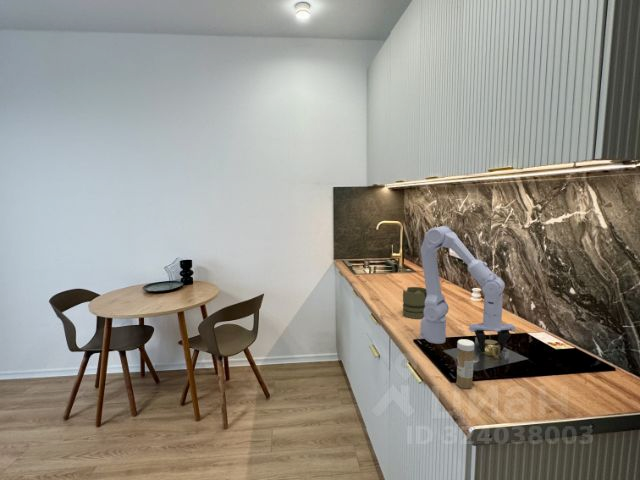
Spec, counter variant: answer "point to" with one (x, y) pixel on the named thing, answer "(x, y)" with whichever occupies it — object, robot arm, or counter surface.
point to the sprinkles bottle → (465, 363)
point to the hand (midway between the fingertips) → (491, 350)
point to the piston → (414, 302)
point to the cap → (492, 348)
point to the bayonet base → (488, 357)
